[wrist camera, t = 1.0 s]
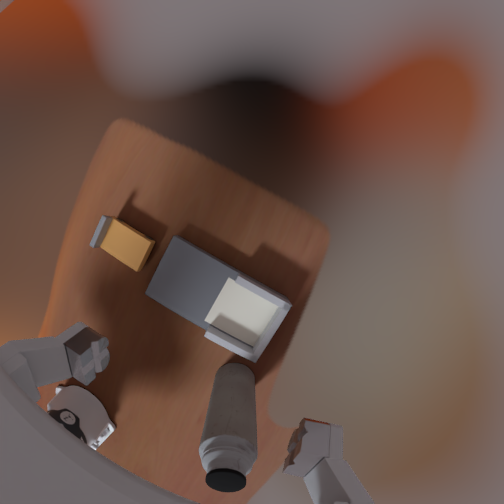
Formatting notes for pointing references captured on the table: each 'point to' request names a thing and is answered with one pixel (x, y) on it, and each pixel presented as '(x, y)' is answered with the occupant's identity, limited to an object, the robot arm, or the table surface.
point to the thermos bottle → (230, 429)
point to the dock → (218, 298)
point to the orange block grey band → (122, 242)
